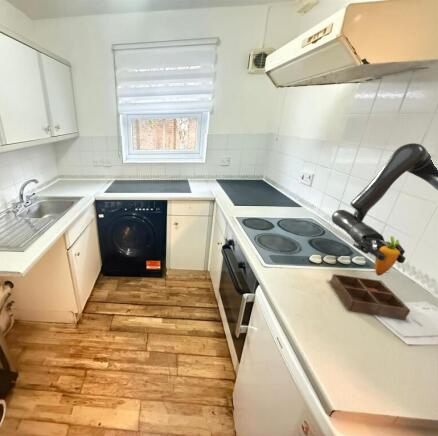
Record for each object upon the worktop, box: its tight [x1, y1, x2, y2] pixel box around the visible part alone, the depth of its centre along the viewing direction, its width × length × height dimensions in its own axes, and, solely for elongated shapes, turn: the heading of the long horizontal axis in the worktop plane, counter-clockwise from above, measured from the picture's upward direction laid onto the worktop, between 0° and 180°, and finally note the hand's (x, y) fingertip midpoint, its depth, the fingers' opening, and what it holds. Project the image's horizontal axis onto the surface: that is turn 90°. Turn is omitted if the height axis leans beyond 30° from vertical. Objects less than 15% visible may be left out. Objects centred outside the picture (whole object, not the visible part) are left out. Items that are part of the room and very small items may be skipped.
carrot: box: [374, 235, 401, 277], centre depth 81 cm, size 5×5×15 cm
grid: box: [329, 273, 411, 321], centre depth 84 cm, size 15×15×4 cm
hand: (392, 259), depth 78 cm, fingers closed on carrot, 4 cm apart
